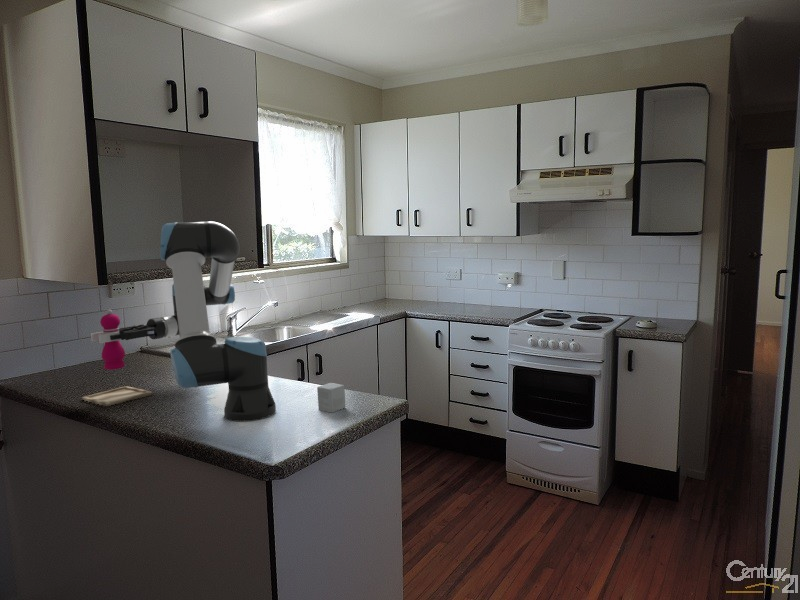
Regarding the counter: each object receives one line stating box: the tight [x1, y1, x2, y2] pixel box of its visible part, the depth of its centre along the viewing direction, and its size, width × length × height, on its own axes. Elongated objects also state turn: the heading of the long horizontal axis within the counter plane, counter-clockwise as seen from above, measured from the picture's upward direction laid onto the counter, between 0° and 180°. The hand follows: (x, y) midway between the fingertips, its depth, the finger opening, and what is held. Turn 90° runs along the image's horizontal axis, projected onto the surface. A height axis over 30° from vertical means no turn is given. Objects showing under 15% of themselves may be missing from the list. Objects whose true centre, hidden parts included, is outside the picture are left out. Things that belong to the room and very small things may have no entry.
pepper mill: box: [100, 309, 126, 371], centre depth 201 cm, size 7×7×20 cm
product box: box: [316, 382, 346, 413], centre depth 181 cm, size 6×6×7 cm
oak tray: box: [81, 385, 153, 407], centre depth 204 cm, size 16×16×1 cm
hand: (95, 338), depth 197 cm, fingers closed on pepper mill, 5 cm apart
